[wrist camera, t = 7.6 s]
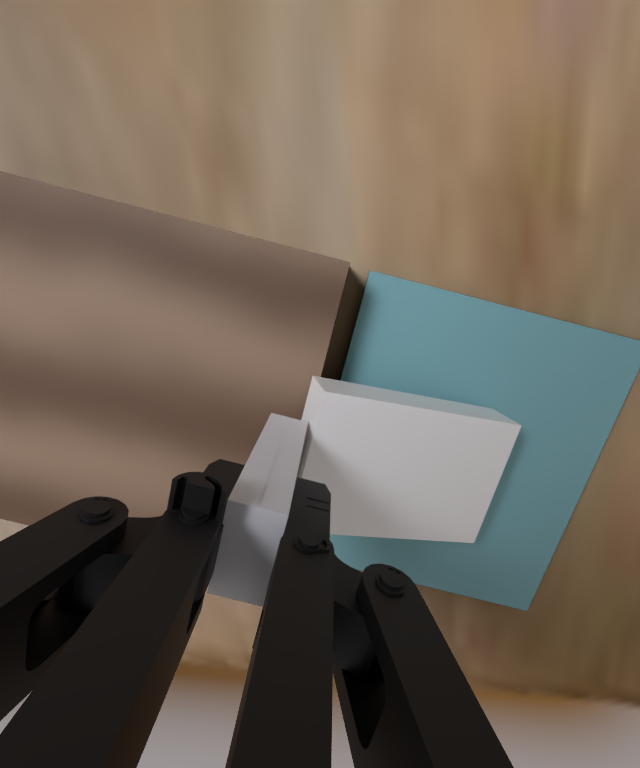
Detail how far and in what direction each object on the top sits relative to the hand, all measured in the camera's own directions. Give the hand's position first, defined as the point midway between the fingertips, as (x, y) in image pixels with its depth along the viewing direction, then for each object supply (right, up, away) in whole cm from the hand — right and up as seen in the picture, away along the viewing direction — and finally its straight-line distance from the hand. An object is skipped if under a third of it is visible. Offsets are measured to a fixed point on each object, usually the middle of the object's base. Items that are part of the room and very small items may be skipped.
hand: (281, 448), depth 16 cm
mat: (+8, -1, +4) cm, 9 cm away
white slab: (+5, -1, +2) cm, 5 cm away
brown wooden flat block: (-7, +3, +4) cm, 8 cm away
